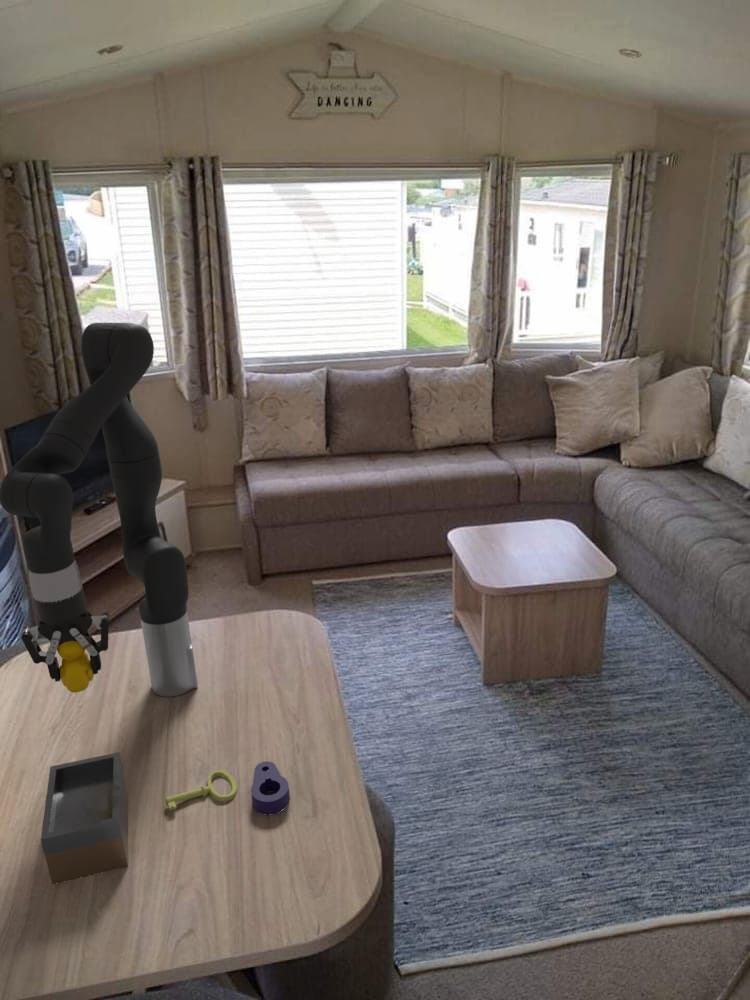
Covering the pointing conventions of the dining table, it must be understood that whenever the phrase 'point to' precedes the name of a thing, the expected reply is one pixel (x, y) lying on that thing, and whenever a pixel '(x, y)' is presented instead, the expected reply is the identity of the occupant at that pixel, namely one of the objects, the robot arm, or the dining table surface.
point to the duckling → (74, 666)
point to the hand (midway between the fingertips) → (77, 674)
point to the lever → (269, 789)
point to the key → (205, 791)
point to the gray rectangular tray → (86, 818)
